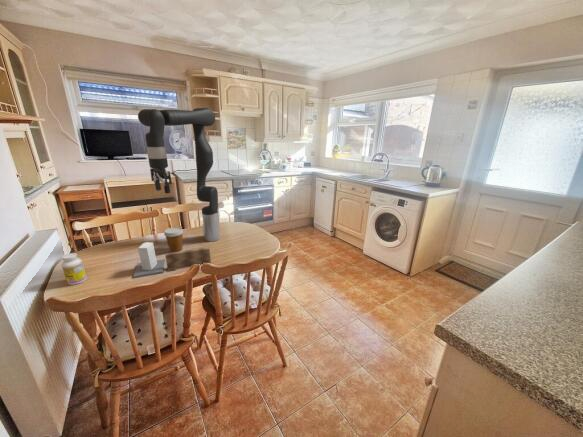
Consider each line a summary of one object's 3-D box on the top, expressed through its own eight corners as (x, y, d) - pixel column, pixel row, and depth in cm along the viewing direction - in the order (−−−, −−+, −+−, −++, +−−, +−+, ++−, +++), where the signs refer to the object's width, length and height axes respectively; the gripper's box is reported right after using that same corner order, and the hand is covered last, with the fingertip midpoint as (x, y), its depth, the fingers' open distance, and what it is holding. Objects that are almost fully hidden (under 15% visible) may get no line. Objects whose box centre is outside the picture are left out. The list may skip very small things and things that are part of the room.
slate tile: (133, 278, 111) (133, 276, 111) (137, 265, 121) (137, 263, 121) (163, 273, 115) (162, 271, 115) (164, 260, 126) (164, 259, 125)
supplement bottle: (64, 283, 106) (55, 257, 102) (81, 275, 112) (73, 250, 107) (74, 286, 104) (65, 260, 99) (90, 278, 110) (83, 253, 105)
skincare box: (148, 263, 121) (144, 242, 117) (157, 263, 121) (153, 242, 117) (142, 270, 115) (137, 248, 111) (151, 270, 115) (147, 247, 111)
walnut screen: (167, 271, 117) (165, 256, 114) (168, 266, 121) (165, 252, 118) (211, 264, 124) (209, 250, 121) (210, 259, 128) (208, 245, 126)
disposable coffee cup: (189, 248, 140) (186, 228, 136) (175, 255, 132) (172, 234, 128) (177, 244, 144) (174, 225, 139) (163, 251, 135) (159, 231, 131)
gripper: (173, 157, 109) (178, 192, 115) (158, 155, 117) (163, 188, 123) (156, 159, 104) (162, 195, 109) (141, 156, 112) (147, 190, 117)
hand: (163, 191), depth 116 cm, fingers open, 8 cm apart
